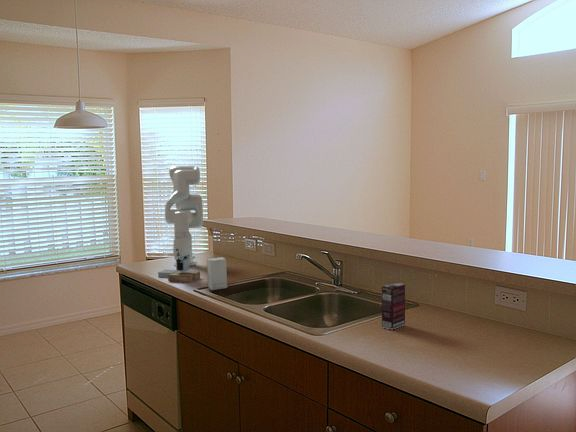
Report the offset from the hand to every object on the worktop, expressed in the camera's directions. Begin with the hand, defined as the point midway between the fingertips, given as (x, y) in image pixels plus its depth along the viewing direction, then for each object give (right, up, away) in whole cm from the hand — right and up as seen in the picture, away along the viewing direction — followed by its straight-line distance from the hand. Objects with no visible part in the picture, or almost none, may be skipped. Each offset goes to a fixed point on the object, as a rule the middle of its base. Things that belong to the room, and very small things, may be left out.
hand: (182, 268), depth 277 cm
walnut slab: (+1, -6, 0) cm, 6 cm away
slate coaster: (-10, -5, +10) cm, 15 cm away
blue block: (0, -1, 0) cm, 1 cm away
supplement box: (+94, -14, -82) cm, 126 cm away
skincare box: (+21, -8, -19) cm, 29 cm away
